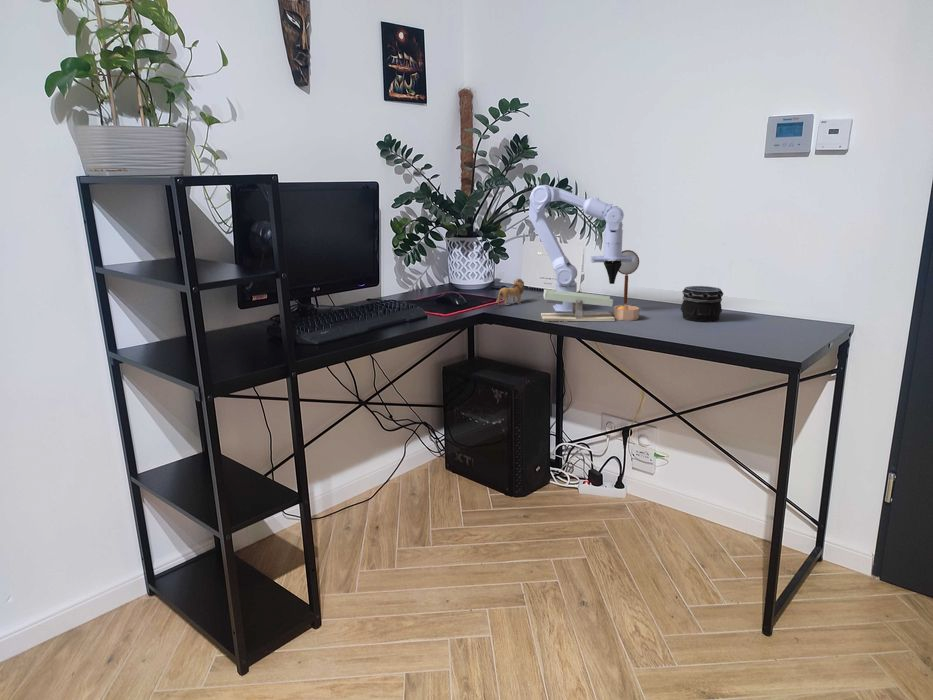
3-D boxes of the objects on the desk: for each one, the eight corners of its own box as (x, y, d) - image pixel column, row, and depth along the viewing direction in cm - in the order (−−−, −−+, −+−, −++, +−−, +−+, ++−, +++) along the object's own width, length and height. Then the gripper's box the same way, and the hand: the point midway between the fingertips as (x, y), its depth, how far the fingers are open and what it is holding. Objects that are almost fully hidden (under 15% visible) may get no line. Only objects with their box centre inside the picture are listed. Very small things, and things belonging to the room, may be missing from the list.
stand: (540, 315, 225) (541, 294, 223) (609, 314, 224) (609, 293, 222) (543, 322, 214) (543, 300, 213) (615, 321, 214) (615, 299, 212)
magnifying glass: (614, 306, 237) (616, 250, 232) (612, 305, 239) (614, 250, 234) (637, 306, 238) (640, 250, 233) (636, 305, 240) (639, 249, 234)
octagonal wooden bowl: (611, 315, 223) (611, 305, 222) (635, 315, 223) (635, 305, 222) (615, 320, 215) (616, 310, 214) (640, 320, 215) (641, 310, 214)
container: (716, 314, 222) (719, 285, 219) (725, 323, 210) (727, 292, 207) (677, 314, 224) (679, 285, 221) (683, 322, 211) (685, 291, 209)
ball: (618, 303, 219) (627, 307, 220) (614, 313, 220) (623, 317, 220) (620, 305, 216) (630, 309, 216) (616, 315, 217) (625, 319, 217)
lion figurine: (516, 300, 252) (516, 277, 249) (527, 302, 248) (527, 278, 246) (492, 307, 241) (491, 282, 239) (503, 308, 238) (503, 283, 235)
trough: (541, 296, 227) (542, 286, 226) (607, 303, 227) (609, 293, 226) (544, 303, 215) (545, 292, 214) (614, 310, 215) (615, 299, 214)
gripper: (593, 244, 219) (592, 285, 223) (637, 244, 219) (635, 285, 222) (590, 242, 226) (589, 282, 230) (633, 242, 226) (631, 281, 229)
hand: (611, 283), depth 226 cm, fingers closed
